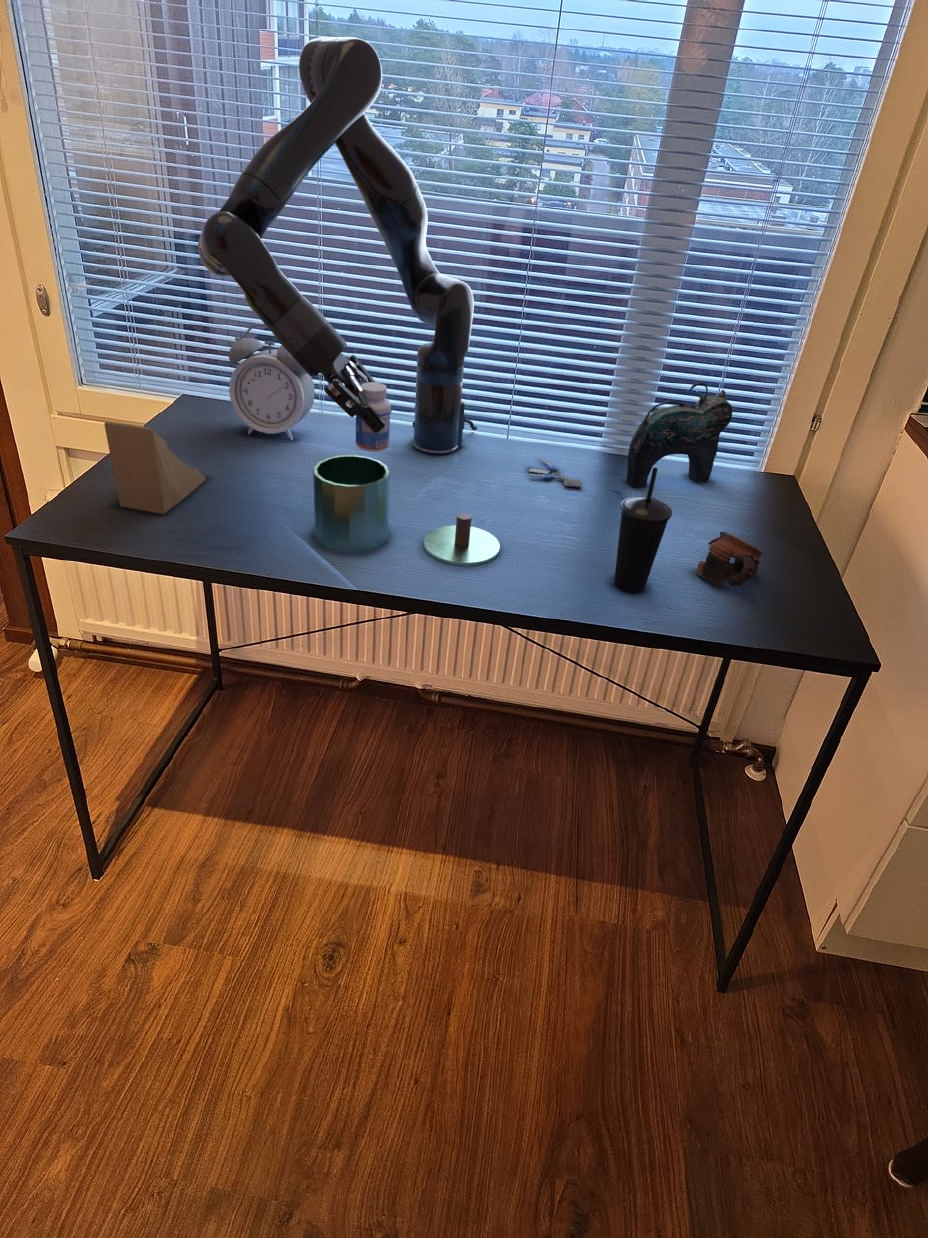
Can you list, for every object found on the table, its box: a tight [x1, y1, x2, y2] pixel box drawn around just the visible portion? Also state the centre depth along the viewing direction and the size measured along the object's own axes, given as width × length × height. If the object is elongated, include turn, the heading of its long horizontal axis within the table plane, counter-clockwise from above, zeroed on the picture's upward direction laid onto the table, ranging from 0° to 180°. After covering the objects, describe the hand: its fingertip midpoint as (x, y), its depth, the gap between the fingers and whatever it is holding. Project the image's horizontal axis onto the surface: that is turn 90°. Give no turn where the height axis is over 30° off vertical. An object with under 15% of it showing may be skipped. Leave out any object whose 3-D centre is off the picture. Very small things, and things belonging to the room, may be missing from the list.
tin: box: [312, 454, 391, 553], centre depth 133 cm, size 12×12×12 cm
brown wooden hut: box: [695, 531, 764, 589], centre depth 133 cm, size 12×10×8 cm
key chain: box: [528, 457, 582, 488], centre depth 162 cm, size 14×8×1 cm, turn 34°
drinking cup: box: [613, 467, 673, 594], centre depth 125 cm, size 8×8×20 cm
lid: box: [423, 512, 501, 567], centre depth 134 cm, size 13×13×6 cm
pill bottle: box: [355, 381, 392, 453], centre depth 129 cm, size 6×5×10 cm
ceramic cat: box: [626, 381, 734, 488], centre depth 159 cm, size 20×6×20 cm, turn 108°
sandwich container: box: [103, 421, 208, 515], centre depth 140 cm, size 9×15×15 cm, turn 167°
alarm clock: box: [228, 323, 316, 441], centre depth 164 cm, size 16×9×22 cm, turn 81°
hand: (384, 421), depth 129 cm, fingers closed on pill bottle, 5 cm apart
